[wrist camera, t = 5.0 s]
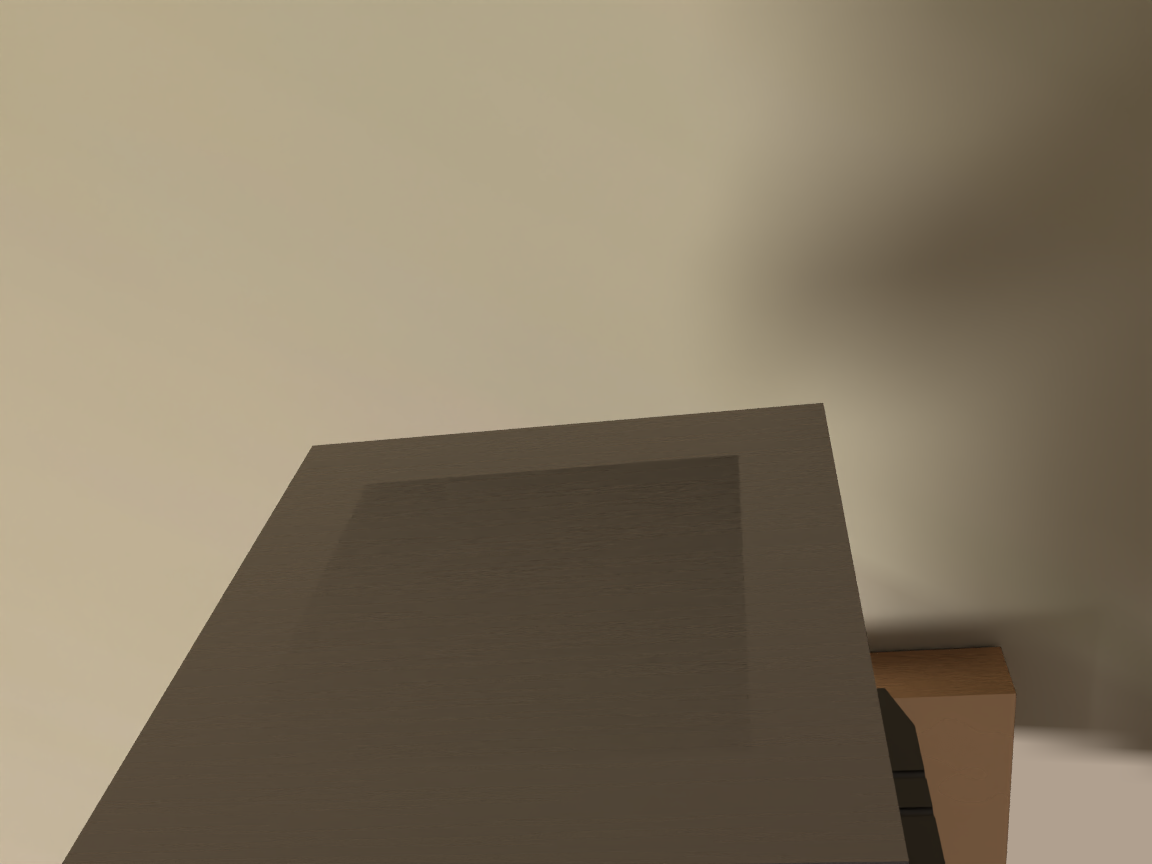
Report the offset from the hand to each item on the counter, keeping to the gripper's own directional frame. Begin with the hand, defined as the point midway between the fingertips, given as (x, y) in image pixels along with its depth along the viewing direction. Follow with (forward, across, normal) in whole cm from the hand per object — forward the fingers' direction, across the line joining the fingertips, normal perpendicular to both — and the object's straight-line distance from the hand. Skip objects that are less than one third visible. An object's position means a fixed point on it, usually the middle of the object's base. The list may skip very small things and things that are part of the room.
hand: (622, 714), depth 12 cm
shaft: (-1, 0, +8) cm, 8 cm away
